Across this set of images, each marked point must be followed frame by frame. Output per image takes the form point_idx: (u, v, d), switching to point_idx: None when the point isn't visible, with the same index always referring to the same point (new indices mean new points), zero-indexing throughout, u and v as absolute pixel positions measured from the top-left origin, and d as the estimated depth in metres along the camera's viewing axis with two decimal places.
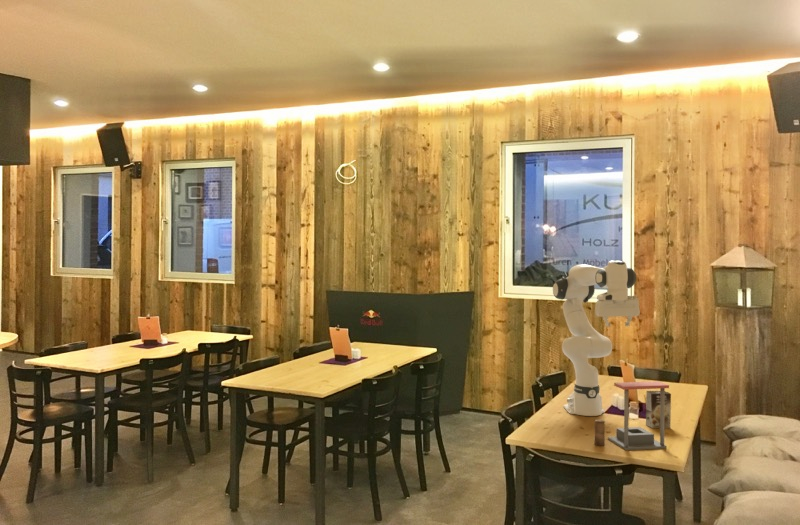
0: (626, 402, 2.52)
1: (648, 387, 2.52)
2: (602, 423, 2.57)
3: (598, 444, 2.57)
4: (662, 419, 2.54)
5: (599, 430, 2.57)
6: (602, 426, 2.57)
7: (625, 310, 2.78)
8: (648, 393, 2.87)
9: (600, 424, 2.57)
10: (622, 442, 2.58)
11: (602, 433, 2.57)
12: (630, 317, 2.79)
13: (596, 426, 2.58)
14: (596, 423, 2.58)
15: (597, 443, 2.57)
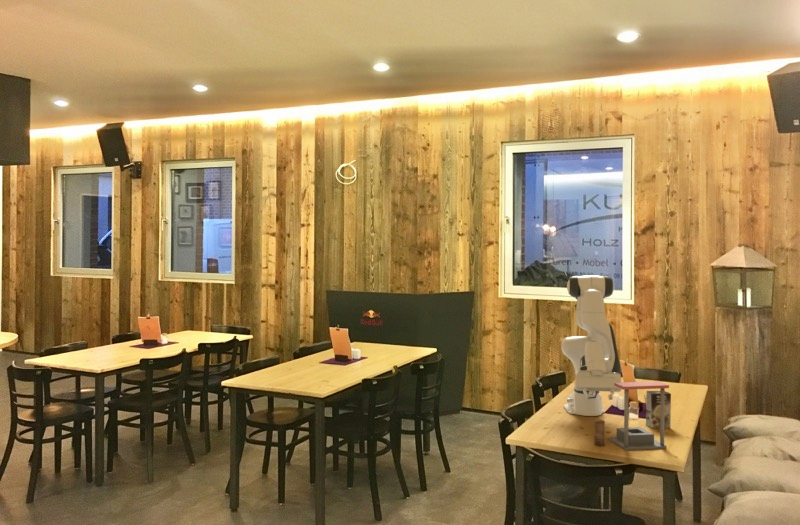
0: (626, 402, 2.52)
1: (648, 387, 2.52)
2: (602, 423, 2.57)
3: (598, 444, 2.57)
4: (662, 419, 2.54)
5: (599, 430, 2.57)
6: (602, 426, 2.57)
7: (605, 382, 2.72)
8: (648, 393, 2.87)
9: (600, 424, 2.57)
10: (622, 442, 2.58)
11: (602, 433, 2.57)
12: (612, 389, 2.70)
13: (596, 426, 2.58)
14: (596, 423, 2.58)
15: (597, 443, 2.57)
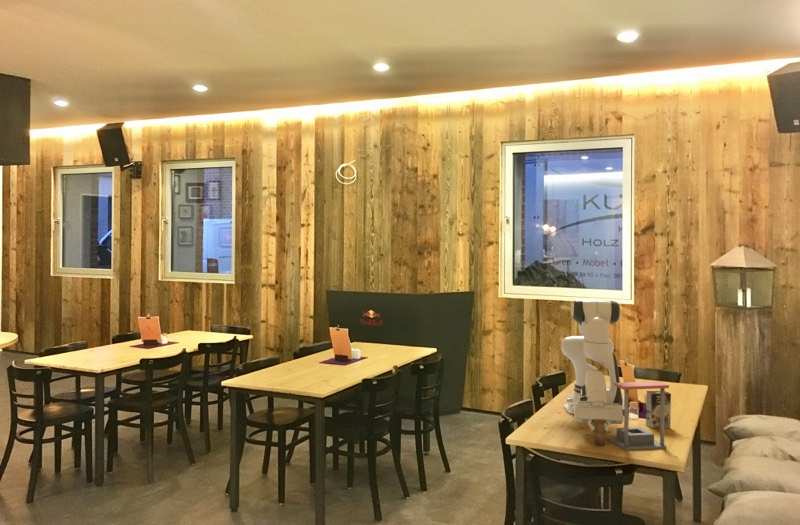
0: (626, 402, 2.52)
1: (648, 387, 2.52)
2: (602, 423, 2.57)
3: (598, 444, 2.57)
4: (662, 419, 2.54)
5: (599, 430, 2.57)
6: (602, 426, 2.57)
7: (605, 413, 2.61)
8: (648, 393, 2.87)
9: (600, 424, 2.57)
10: (622, 442, 2.58)
11: (602, 433, 2.57)
12: (608, 421, 2.59)
13: (596, 426, 2.58)
14: (596, 423, 2.58)
15: (597, 443, 2.57)
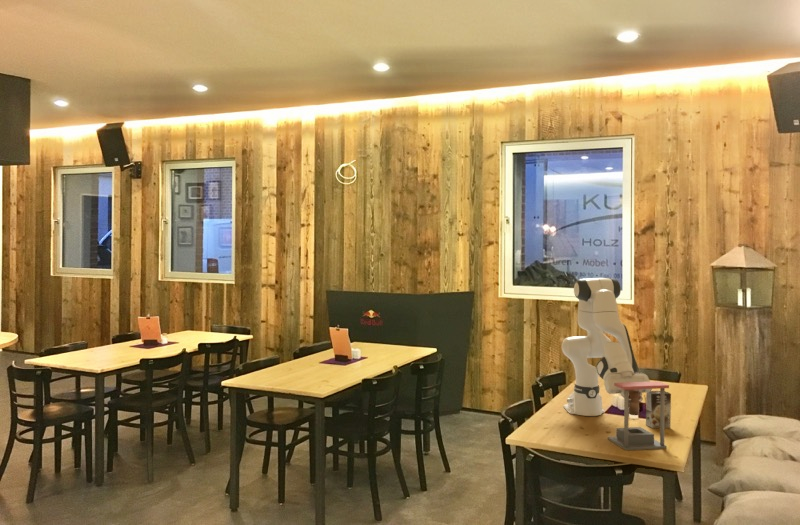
0: (626, 402, 2.52)
1: (648, 387, 2.52)
2: (638, 392, 2.59)
3: (634, 413, 2.59)
4: (662, 419, 2.54)
5: (635, 400, 2.59)
6: (638, 395, 2.59)
7: None
8: (648, 393, 2.87)
9: (636, 393, 2.59)
10: (622, 442, 2.58)
11: (638, 402, 2.59)
12: (640, 390, 2.63)
13: (632, 396, 2.59)
14: (632, 393, 2.59)
15: (634, 412, 2.59)
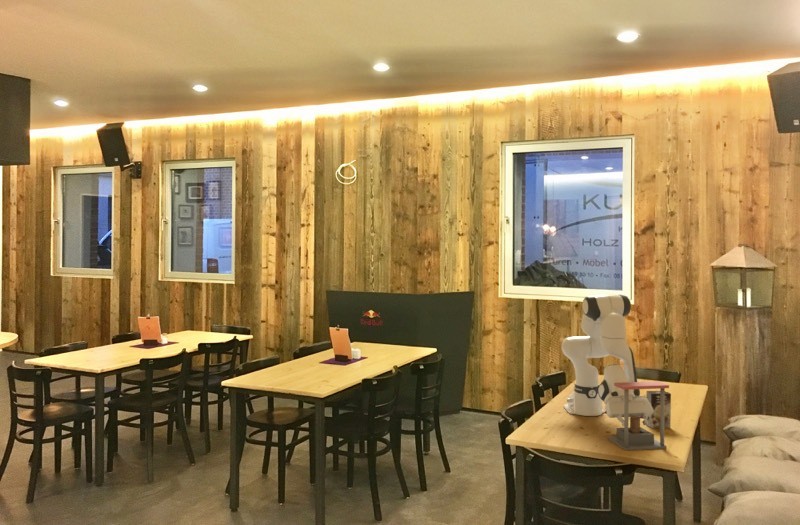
0: (626, 402, 2.52)
1: (648, 387, 2.52)
2: (639, 419, 2.59)
3: None
4: (662, 419, 2.54)
5: (637, 426, 2.59)
6: (639, 422, 2.59)
7: (637, 407, 2.65)
8: (648, 393, 2.87)
9: (638, 420, 2.59)
10: (622, 442, 2.58)
11: (639, 429, 2.59)
12: (645, 414, 2.63)
13: (633, 422, 2.59)
14: (633, 419, 2.59)
15: None
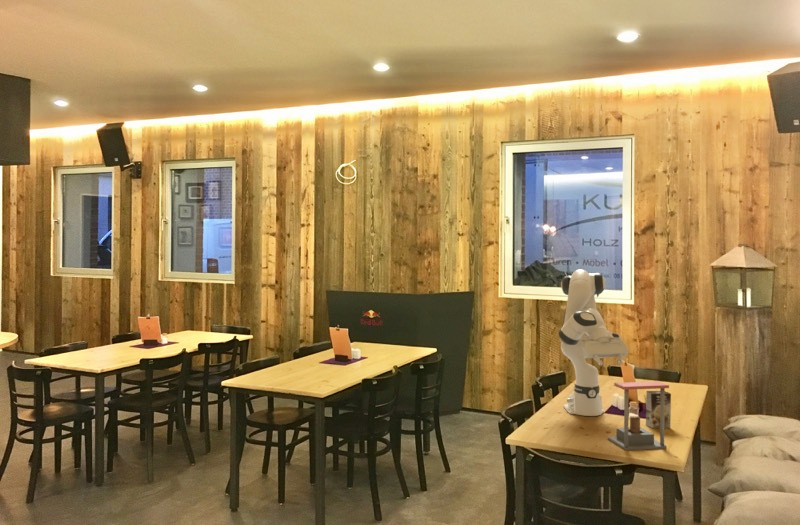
0: (626, 402, 2.52)
1: (648, 387, 2.52)
2: (639, 419, 2.59)
3: None
4: (662, 419, 2.54)
5: (637, 426, 2.59)
6: (639, 422, 2.59)
7: None
8: (648, 393, 2.87)
9: (637, 420, 2.59)
10: (622, 442, 2.58)
11: (639, 429, 2.60)
12: None
13: (633, 422, 2.59)
14: (633, 419, 2.59)
15: None
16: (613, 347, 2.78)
